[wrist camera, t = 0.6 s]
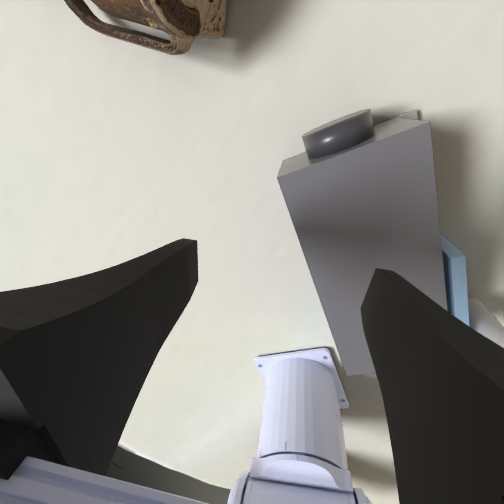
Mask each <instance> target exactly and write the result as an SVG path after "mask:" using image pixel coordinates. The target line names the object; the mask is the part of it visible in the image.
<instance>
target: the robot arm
mask: <svg viewBox="0 0 504 504" xmlns="http://www.w3.org/2000/svg"><path fill="white" fill-rule="evenodd" d="M197 282H198V255H197V240H190V239H184V238H183V239H180V240H177V241H174V242H172V243H170V244H167V245H165V246H163V247H160V248H158V249H156V250H154V251H151V252H149V253H147V254H144V255H142V256H139V257H137V258H134V259H132V260H129V261H127V262H124V263H122V264H119V265H116V266H113V267H110V268H107V269H104V270H101V271H98V272H94V273H91V274H87V275H84V276H80V277H76V278H71V279H67V280H63V281H59V282H55V283H50V284H45V285H40V286H34V287H29V288H23V289H17V290H11V291H4V292H0V504H208V503H204V502H201V501H197V500H193V499H189V498H186V497H182V496H178V495H174V494H170V493H166V492H163V491H159V490H155V489H151V488H148V487H143V486H140V485H136V484H132V483H128V482H124V481H120V480H117V479H113V478H109V477H106V476H105V475H106V473H107V470H108V468H109V465H110V462H111V460H112V457H113V455H114V452H115V450H116V447H117V445H118V442H119V440H120V437H121V435H122V432H123V430H124V427H125V425H126V423H127V420H128V418H129V416H130V413H131V411H132V409H133V406H134V404H135V401H136V399H137V397H138V395H139V393H140V390H141V388H142V386H143V384H144V382H145V379H146V377H147V375H148V373H149V371H150V369H151V367H152V365H153V362H154V360H155V358H156V356H157V354H158V352H159V350H160V349H161V347H162V345H163V343H164V341H165V340H166V338H167V337H168V335H169V333H170V332H171V330H172V329H173V327H174V325H175V324H176V322H177V320H178V319H179V317H180V316H181V314H182V312H183V311H184V309H185V307H186V306H187V304H188V302H189V301H190V299H191V296H192V294H193V292H194V290H195V287H196V285H197ZM360 309H361V317H362V324H363V331H364V334H365V338H366V341H367V345H368V348H369V352H370V355H371V358H372V361H373V365H374V368H375V371H376V375H377V378H378V381H379V385H380V389H381V392H382V396H383V401H384V406H385V411H386V417H387V422H388V427H389V433H390V440H391V446H392V452H393V458H394V465H395V472H396V480H397V487H398V495H399V502H400V504H504V348H503V347H501V346H500V345H498V344H496V343H495V342H493V341H492V340H490V339H488V338H487V337H485V336H483V335H482V334H480V333H479V332H477V331H476V330H474V329H473V328H471V327H469V326H468V325H467V324H465V323H464V322H462V321H461V320H459V319H458V318H456V317H455V316H454V315H452V314H451V313H449V312H448V311H447V310H445V309H444V308H442V307H441V306H440V305H438V304H437V303H436V302H434V301H433V300H432V299H430V298H429V297H428V296H427V295H425V294H424V293H423V292H421V291H420V290H419V289H417V288H416V287H415V286H414V285H412V284H411V283H410V282H408V281H407V280H406V279H404V278H403V277H402V276H400V275H399V274H397V273H396V272H394V271H392V270H386V269H379V268H376V269H375V272H374V274H373V277H372V279H371V282H370V285H369V287H368V290H367V292H366V295H365V298H364V300H363V303H362V305H361V308H360ZM254 363H255V365H256V367H257V368H258V370H259V372H260V374H261V376H262V377H263V379H264V381H265V383H266V389H265V397H264V405H263V413H262V421H261V429H260V437H259V445H258V453H257V458H252V460H251V467H250V473H249V472H242V473H241V475H240V476H239V478H238V479H237V480H236V481H235V482H234V484H233V486H232V489H231V492H230V495H229V499H228V503H227V504H372V503H371V501H370V500H369V499H368V497H367V496H366V495H365V493H364V492H363V490H362V489H360V488H353V486H352V479H351V472H350V471H349V470H348V464H347V456H346V448H345V441H344V433H343V426H342V418H341V410H340V409H346V408H348V407H349V402H348V400H347V397H346V394H345V392H344V389H343V386H342V383H341V381H340V378H339V375H338V373H337V370H336V367H335V365H334V362H333V359H332V356H331V354H330V351H329V349H327V348H319V349H311V350H304V351H297V352H289V353H282V354H275V355H268V356H260V357H256V358H255V360H254Z"/></svg>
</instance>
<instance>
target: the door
mask: <svg viewBox="0 0 504 504" xmlns="http://www.w3.org/2000/svg"><path fill="white" fill-rule="evenodd" d="M440 235H441V246H442V256H443V267H444V278H445V289H446V300H447V310H448V312H449V313H451V314H452V315H454V316H455V317H456V318H458V319H459V320H461V321H462V322H464V323H465V324H467V325H468V326H469V327H471V328H473V329H474V330H476V331H477V332H479V333H480V334H482V335H483V336H485V337H487V338H488V339H490V340H492V341H493V342H495V343H496V344H498V345H500V346H501V347H503V348H504V327H503V326H502V324H501V323H500V322H499V321H498V320H497V319H496V318H495V317H494V316H493V315H492V314H491V313H490V312H489V310H488V309H487V308H486V307H485V306H484V305H483V304H482V303H481V302H480V301H479V300H478V299H476V298H468V291H467V270H466V255H465V254H464V253H463V252H462V251H461V250H460V249H459V248H457V247H456V246H455V245H454V244H453V243H452V242H451V241H450V240H448V239H447V238H446V237H445V236H444V235H443V234H442V233H441V232H440Z"/></svg>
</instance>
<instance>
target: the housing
mask: <svg viewBox="0 0 504 504" xmlns="http://www.w3.org/2000/svg"><path fill="white" fill-rule="evenodd" d="M302 138H303V142H304V145H305V149H306V152H304V153H301V154H299V155H296V156H294V157H291V158H288V159H286V160H283V162H282V165H281V168H280V170H279V173H278V176H277V179H278V182H279V185H280V188H281V190H282V193H283V196H284V199H285V202H286V205H287V208H288V210H289V213H290V216H291V219H292V222H293V225H294V227H295V230H296V233H297V236H298V239H299V242H300V245H301V247H302V250H303V253H304V256H305V259H306V262H307V264H308V267H309V270H310V273H311V276H312V279H313V282H314V284H315V287H316V290H317V293H318V296H319V299H320V301H321V304H322V307H323V310H324V313H325V316H326V319H327V321H328V324H329V327H330V330H331V333H332V336H333V338H334V341H335V344H336V347H337V350H338V353H339V356H340V358H341V361H342V364H343V367H344V370H345V373H346V375H347V376H354V375H364V374H374V373H376V371H375V368H374V365H373V361H372V358H371V355H370V352H369V348H368V345H367V341H366V338H365V334H364V331H363V324H362V317H361V309H360V308H361V305H362V303H363V300H364V298H365V295H366V292H367V290H368V287H369V285H370V282H371V279H372V277H373V274H374V272H375V269H376V268H379V269H386V270H392V271H394V272H396V273H397V274H399V275H400V276H402V277H403V278H404V279H406V280H407V281H408V282H410V283H411V284H412V285H414V286H415V287H416V288H417V289H419V290H420V291H421V292H423V293H424V294H425V295H427V296H428V297H429V298H430V299H432V300H433V301H434V302H436V303H437V304H438V305H440V306H441V307H442V308H444V309H445V310H447V300H446V289H445V278H444V267H443V256H442V246H441V235H440V224H439V213H438V202H437V192H436V181H435V170H434V159H433V148H432V138H431V127H430V121H422V120H418V115H417V110H412V111H410V112H407V113H404V114H402V115H399V116H397V117H394V118H392V119H389V120H386V121H384V122H381V123H379V124H376V125H373V121H372V115H371V109H365V110H362V111H358V112H355V113H352V114H350V115H347V116H344V117H342V118H339V119H336V120H334V121H331V122H329V123H327V124H324V125H322V126H320V127H318V128H316V129H313V130H311V131H309V132H308V133H306V134H304V135H303V136H302ZM447 311H448V310H447Z"/></svg>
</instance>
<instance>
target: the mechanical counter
mask: <svg viewBox="0 0 504 504" xmlns="http://www.w3.org/2000/svg"><path fill="white" fill-rule="evenodd" d="M64 1H65V2H66V4H67V5H68V7H69V8H70V9H71V10H72V11H73V12H74V13H75V14H76V15H77V16H78V17H79V18H80V19H81V20H82V22H83V23H84V24H85V25H87V26H89V27H90V28H92V29H93V30H95V31H97V32H99V33H102V34H104V35H107V36H110V37H113V38H117V39H120V40H124V41H127V42H130V43H134V44H137V45H140V46H144V47H147V48H150V49H154V50H157V51H160V52H164V53H167V54H171V55H178V54H184V53H186V52H188V51H189V49H190V47H191V44H192V42H193V39H195V38H220V37H221V36H223V35H224V30H225V21H226V5H227V0H91V1H92V2H93V3H95V4H96V5H97V6H98V7H99V8H100V9H101V10H103V11H105V12H106V13H108V14H111V15H113V16H115V17H117V18H121V19H124V20H128V21H131V22H135V23H138V24H142V25H145V26H149V27H152V28H153V29H159V30H162V31H164V32H166V33H168V35H169V37H170V39H171V41H169V40H166V39H162V38H158V37H155V36H152V35H149V34H146V33H142V32H138V31H135V30H130V29H126V28H122V27H119V26H115V25H111V24H107V23H104V22H102V21H101V20H99V19H98V18H97V17H96V16H95V15H94V14H93V13H92V11H91V10H90V9H89V7H88V6H87V5H86V3H85V2H84V1H83V0H64Z"/></svg>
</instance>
